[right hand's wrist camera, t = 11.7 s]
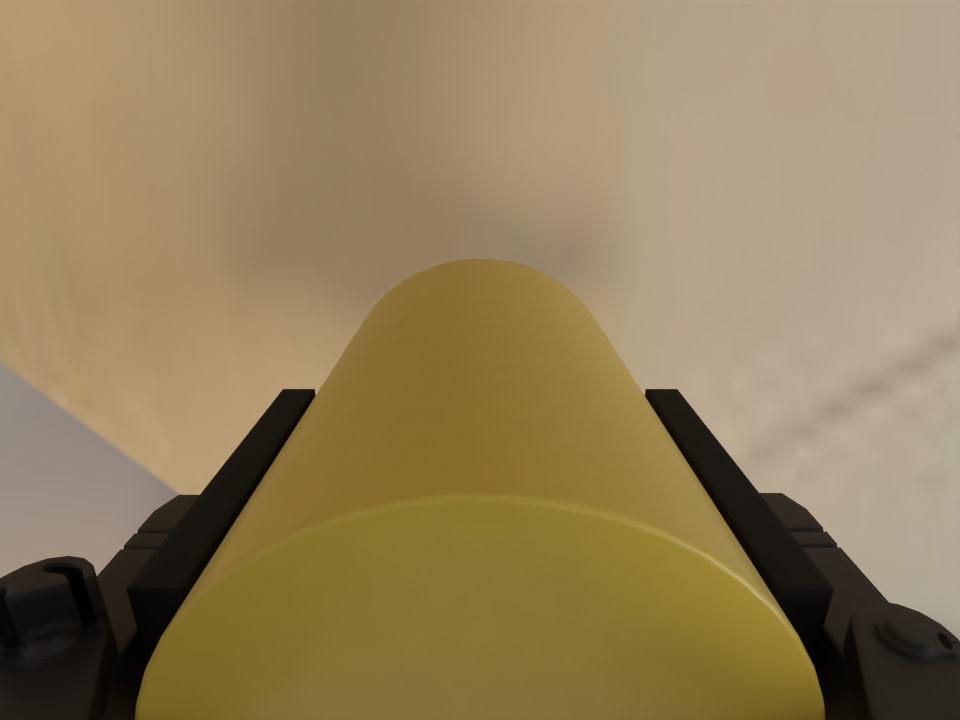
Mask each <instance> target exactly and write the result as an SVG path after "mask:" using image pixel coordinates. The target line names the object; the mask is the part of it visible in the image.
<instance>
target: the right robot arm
mask: <svg viewBox="0 0 960 720" xmlns="http://www.w3.org/2000/svg"><path fill="white" fill-rule="evenodd" d="M645 397H646V399H647V400H648V402H649V404H650V405H651V407H652V408H653V410H654V411H655V413H656V414H657V416H658V418H659V419H660V421H661V422H662V424H663V425H664V427H665V428H666V430H667V432H668V433H669V435H670V436H671V438H672V439H673V441H674V442H675V444H676V446H677V447H678V449H679V450H680V452H681V453H682V455H683V456H684V458H685V460H686V461H687V463H688V464H689V466H690V467H691V469H692V470H693V472H694V474H695V475H696V477H697V478H698V480H699V481H700V483H701V484H702V486H703V488H704V489H705V491H706V492H707V494H708V495H709V497H710V498H711V500H712V502H713V503H714V505H715V506H716V508H717V509H718V511H719V512H720V514H721V516H722V517H723V519H724V520H725V522H726V523H727V525H728V527H729V528H730V530H731V531H732V533H733V534H734V536H735V537H736V539H737V541H738V542H739V544H740V545H741V547H742V548H743V550H744V551H745V553H746V555H747V556H748V558H749V559H750V561H751V562H752V564H753V565H754V567H755V569H756V570H757V572H758V573H759V575H760V576H761V578H762V579H763V581H764V583H765V584H766V586H767V587H768V589H769V590H770V592H771V593H772V595H773V597H774V598H775V600H776V601H777V603H778V604H779V606H780V607H781V609H782V611H783V612H784V614H785V615H786V617H787V618H788V620H789V621H790V623H791V625H792V626H793V628H794V629H795V631H796V632H797V634H798V636H799V638H800V640H801V642H802V644H803V646H804V648H805V650H806V652H807V654H808V655H809V657H810V659H811V661H812V663H813V665H814V668H815V671H816V675H817V678H818V682H819V685H820V689H821V692H822V696H823V700H824V708H825V720H960V641H959V640H958V638H956V637H955V636H954V635H953V634H952V633H950V632H949V631H948V630H947V629H946V628H945V627H943V626H942V625H941V624H940V623H938V622H936V621H934V620H933V619H931V618H929V617H927V616H925V615H924V614H922V613H920V612H918V611H915V610H912V609H910V608H907V607H904V606H901V605H898V604H893V603H889V602H888V601H887V600H886V599H885V598H884V596H883V595H882V594H881V593H880V592H879V591H878V590H877V588H876V587H875V586H874V585H873V584H872V583H871V582H870V581H869V579H868V578H867V577H866V576H865V575H864V574H863V573H862V571H861V570H860V569H859V568H858V567H857V566H856V565H855V564H854V562H853V561H852V560H851V559H850V558H849V557H848V556H847V554H846V553H845V552H844V551H843V550H842V549H841V548H838V547H837V543H836V542H835V541H834V540H833V539H832V537H831V536H830V535H829V534H828V533H827V532H824V531H823V527H822V526H821V525H820V524H819V523H818V522H817V521H816V519H815V518H814V517H813V516H812V515H811V514H810V513H809V511H808V510H807V509H805V508H804V507H802V506H801V505H799V504H798V503H796V502H795V501H793V500H792V499H790V498H788V497H787V496H785V495H784V494H782V493H759V492H758V491H757V490H756V489H755V487H754V486H753V485H752V484H751V482H750V481H749V480H748V478H747V477H746V476H745V475H744V473H743V472H742V471H741V470H740V468H739V467H738V466H737V464H736V463H735V462H734V461H733V459H732V458H731V457H730V456H729V454H728V453H727V452H726V451H725V449H724V448H723V447H722V445H721V444H720V443H719V442H718V440H717V439H716V438H715V437H714V435H713V434H712V433H711V432H710V430H709V429H708V428H707V426H706V425H705V424H704V423H703V421H702V420H701V419H700V418H699V416H698V415H697V414H696V412H695V411H694V410H693V409H692V407H691V406H690V405H689V404H688V402H687V401H686V400H685V399H684V397H683V396H682V395H681V393H680V392H679V391H678V390H677V389H646V392H645ZM314 398H315V389H283V390H282V391H281V393H280V394H279V395H278V397H277V398H276V399H275V400H274V402H273V403H272V404H271V405H270V407H269V408H268V409H267V410H266V412H265V413H264V414H263V416H262V417H261V418H260V419H259V421H258V422H257V423H256V424H255V426H254V427H253V428H252V429H251V431H250V432H249V433H248V435H247V436H246V437H245V438H244V440H243V441H242V442H241V443H240V445H239V446H238V447H237V449H236V450H235V451H234V452H233V454H232V455H231V456H230V457H229V459H228V460H227V461H226V462H225V464H224V465H223V466H222V468H221V469H220V470H219V471H218V473H217V474H216V475H215V476H214V478H213V479H212V480H211V482H210V483H209V484H208V485H207V487H206V488H205V489H204V490H203V492H202V493H201V494H200V495H178V496H177V497H175V498H174V499H172V500H171V501H169V502H167V503H166V504H164V505H163V506H161V507H160V508H158V509H157V510H155V511H154V512H153V513H152V514H151V515H150V517H149V518H148V519H147V520H146V521H145V522H144V523H143V525H142V526H141V527H140V528H139V529H138V533H137V534H134V535H133V536H132V537H131V538H130V539H129V541H128V542H127V543H126V544H125V545H124V549H123V550H120V551H119V552H118V553H117V554H116V555H115V556H114V558H113V559H112V560H111V561H110V562H109V563H108V565H107V566H106V567H105V568H104V569H103V570H102V571H101V572H100V574H99V575H98V576H96V573H95V570H94V566H93V565H92V564H91V563H90V562H88V561H87V560H86V559H84V558H78V557H72V556H64V557H57V558H49V559H45V560H42V561H39V562H36V563H32V564H29V565H26V566H24V567H21V568H19V569H17V570H15V571H14V572H11V573H9V574H7V575H6V576H3V577H2V578H0V720H135V713H136V703H137V698H138V695H139V691H140V687H141V683H142V680H143V676H144V672H145V669H146V667H147V665H148V663H149V661H150V659H151V657H152V655H153V652H154V650H155V648H156V646H157V644H158V642H159V640H160V638H161V636H162V635H163V633H164V632H165V630H166V629H167V627H168V625H169V624H170V622H171V621H172V619H173V618H174V616H175V614H176V613H177V611H178V610H179V608H180V607H181V605H182V604H183V602H184V600H185V599H186V597H187V596H188V594H189V593H190V591H191V590H192V588H193V586H194V585H195V583H196V582H197V580H198V579H199V577H200V576H201V574H202V572H203V571H204V569H205V568H206V566H207V565H208V563H209V561H210V560H211V558H212V557H213V555H214V554H215V552H216V551H217V549H218V547H219V546H220V544H221V543H222V541H223V540H224V538H225V537H226V535H227V533H228V532H229V530H230V529H231V527H232V526H233V524H234V523H235V521H236V519H237V518H238V516H239V515H240V513H241V512H242V510H243V508H244V507H245V505H246V504H247V502H248V501H249V499H250V498H251V496H252V494H253V493H254V491H255V490H256V488H257V487H258V485H259V484H260V482H261V480H262V479H263V477H264V476H265V474H266V473H267V471H268V470H269V468H270V466H271V465H272V463H273V462H274V460H275V459H276V457H277V455H278V454H279V452H280V451H281V449H282V448H283V446H284V445H285V443H286V441H287V440H288V438H289V437H290V435H291V434H292V432H293V431H294V429H295V427H296V426H297V424H298V423H299V421H300V420H301V418H302V417H303V415H304V413H305V412H306V410H307V409H308V407H309V406H310V404H311V402H312V401H313V399H314Z"/></svg>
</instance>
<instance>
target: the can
mask: <svg viewBox="0 0 960 720" xmlns="http://www.w3.org/2000/svg"><path fill="white" fill-rule="evenodd" d="M135 720H825V708H824V700H823V696H822V692H821V689H820V685H819V682H818V678H817V675H816V671H815V668H814V665H813V663H812V661H811V659H810V657H809V655H808V654H807V652H806V650H805V648H804V646H803V644H802V642H801V640H800V638H799V636H798V634H797V632H796V631H795V629H794V628H793V626H792V625H791V623H790V621H789V620H788V618H787V617H786V615H785V614H784V612H783V611H782V609H781V607H780V606H779V604H778V603H777V601H776V600H775V598H774V597H773V595H772V593H771V592H770V590H769V589H768V587H767V586H766V584H765V583H764V581H763V579H762V578H761V576H760V575H759V573H758V572H757V570H756V569H755V567H754V565H753V564H752V562H751V561H750V559H749V558H748V556H747V555H746V553H745V551H744V550H743V548H742V547H741V545H740V544H739V542H738V541H737V539H736V537H735V536H734V534H733V533H732V531H731V530H730V528H729V527H728V525H727V523H726V522H725V520H724V519H723V517H722V516H721V514H720V512H719V511H718V509H717V508H716V506H715V505H714V503H713V502H712V500H711V498H710V497H709V495H708V494H707V492H706V491H705V489H704V488H703V486H702V484H701V483H700V481H699V480H698V478H697V477H696V475H695V474H694V472H693V470H692V469H691V467H690V466H689V464H688V463H687V461H686V460H685V458H684V456H683V455H682V453H681V452H680V450H679V449H678V447H677V446H676V444H675V442H674V441H673V439H672V438H671V436H670V435H669V433H668V432H667V430H666V428H665V427H664V425H663V424H662V422H661V421H660V419H659V418H658V416H657V414H656V413H655V411H654V410H653V408H652V407H651V405H650V404H649V402H648V400H647V399H646V397H645V396H644V394H643V393H642V391H641V389H640V388H639V386H638V385H637V383H636V382H635V380H634V379H633V377H632V375H631V374H630V372H629V371H628V369H627V368H626V366H625V365H624V363H623V361H622V360H621V358H620V357H619V355H618V354H617V352H616V351H615V349H614V347H613V346H612V344H611V343H610V341H609V340H608V338H607V337H606V335H605V333H604V332H603V330H602V329H601V327H600V326H599V324H598V323H597V321H596V320H595V318H594V317H593V315H592V314H591V313H590V311H589V310H588V309H587V307H586V306H585V305H584V304H583V303H582V302H581V301H580V300H579V299H578V298H577V297H576V296H575V295H574V294H573V293H572V292H571V291H569V290H568V289H567V288H565V287H564V286H563V285H562V284H560V283H559V282H557V281H555V280H554V279H552V278H550V277H549V276H547V275H545V274H543V273H541V272H538V271H536V270H534V269H531V268H529V267H526V266H523V265H519V264H515V263H511V262H507V261H499V260H491V259H469V260H461V261H454V262H449V263H445V264H442V265H438V266H434V267H431V268H429V269H427V270H424V271H422V272H420V273H417V274H415V275H413V276H412V277H410V278H408V279H407V280H405V281H403V282H401V283H400V284H399V285H397V286H396V287H395V288H394V289H392V290H391V291H390V292H388V293H387V294H386V295H385V296H384V297H383V298H382V299H381V300H380V301H379V302H378V303H377V304H376V305H375V306H374V307H373V309H372V310H371V312H370V313H369V314H368V316H367V317H366V319H365V320H364V321H363V323H362V325H361V326H360V328H359V329H358V331H357V332H356V334H355V335H354V337H353V339H352V340H351V342H350V343H349V345H348V346H347V348H346V349H345V351H344V353H343V354H342V356H341V357H340V359H339V360H338V362H337V364H336V365H335V367H334V368H333V370H332V371H331V373H330V374H329V376H328V378H327V379H326V381H325V382H324V384H323V385H322V387H321V388H320V390H319V392H318V393H317V395H316V396H315V398H314V399H313V401H312V402H311V404H310V406H309V407H308V409H307V410H306V412H305V413H304V415H303V417H302V418H301V420H300V421H299V423H298V424H297V426H296V427H295V429H294V431H293V432H292V434H291V435H290V437H289V438H288V440H287V441H286V443H285V445H284V446H283V448H282V449H281V451H280V452H279V454H278V455H277V457H276V459H275V460H274V462H273V463H272V465H271V466H270V468H269V470H268V471H267V473H266V474H265V476H264V477H263V479H262V480H261V482H260V484H259V485H258V487H257V488H256V490H255V491H254V493H253V494H252V496H251V498H250V499H249V501H248V502H247V504H246V505H245V507H244V508H243V510H242V512H241V513H240V515H239V516H238V518H237V519H236V521H235V523H234V524H233V526H232V527H231V529H230V530H229V532H228V533H227V535H226V537H225V538H224V540H223V541H222V543H221V544H220V546H219V547H218V549H217V551H216V552H215V554H214V555H213V557H212V558H211V560H210V561H209V563H208V565H207V566H206V568H205V569H204V571H203V572H202V574H201V576H200V577H199V579H198V580H197V582H196V583H195V585H194V586H193V588H192V590H191V591H190V593H189V594H188V596H187V597H186V599H185V600H184V602H183V604H182V605H181V607H180V608H179V610H178V611H177V613H176V614H175V616H174V618H173V619H172V621H171V622H170V624H169V625H168V627H167V629H166V630H165V632H164V633H163V635H162V636H161V638H160V640H159V642H158V644H157V646H156V648H155V650H154V652H153V655H152V657H151V659H150V661H149V663H148V665H147V667H146V669H145V672H144V676H143V680H142V683H141V687H140V691H139V695H138V698H137V703H136V713H135Z"/></svg>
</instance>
